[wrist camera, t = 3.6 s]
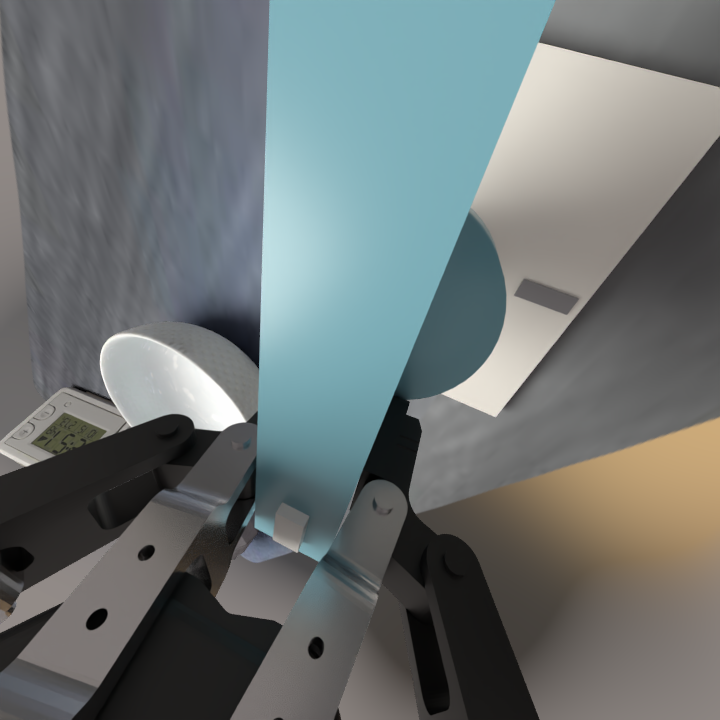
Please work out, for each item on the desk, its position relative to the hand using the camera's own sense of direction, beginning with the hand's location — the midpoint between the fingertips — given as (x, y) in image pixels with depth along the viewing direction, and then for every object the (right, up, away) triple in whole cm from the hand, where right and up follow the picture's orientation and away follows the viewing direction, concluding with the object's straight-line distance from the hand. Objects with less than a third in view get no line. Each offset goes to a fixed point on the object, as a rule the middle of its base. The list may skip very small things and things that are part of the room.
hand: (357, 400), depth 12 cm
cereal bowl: (-14, 0, +20) cm, 24 cm away
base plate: (+5, +9, +6) cm, 12 cm away
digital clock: (-38, -6, +34) cm, 51 cm away
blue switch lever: (+2, +5, 0) cm, 5 cm away
